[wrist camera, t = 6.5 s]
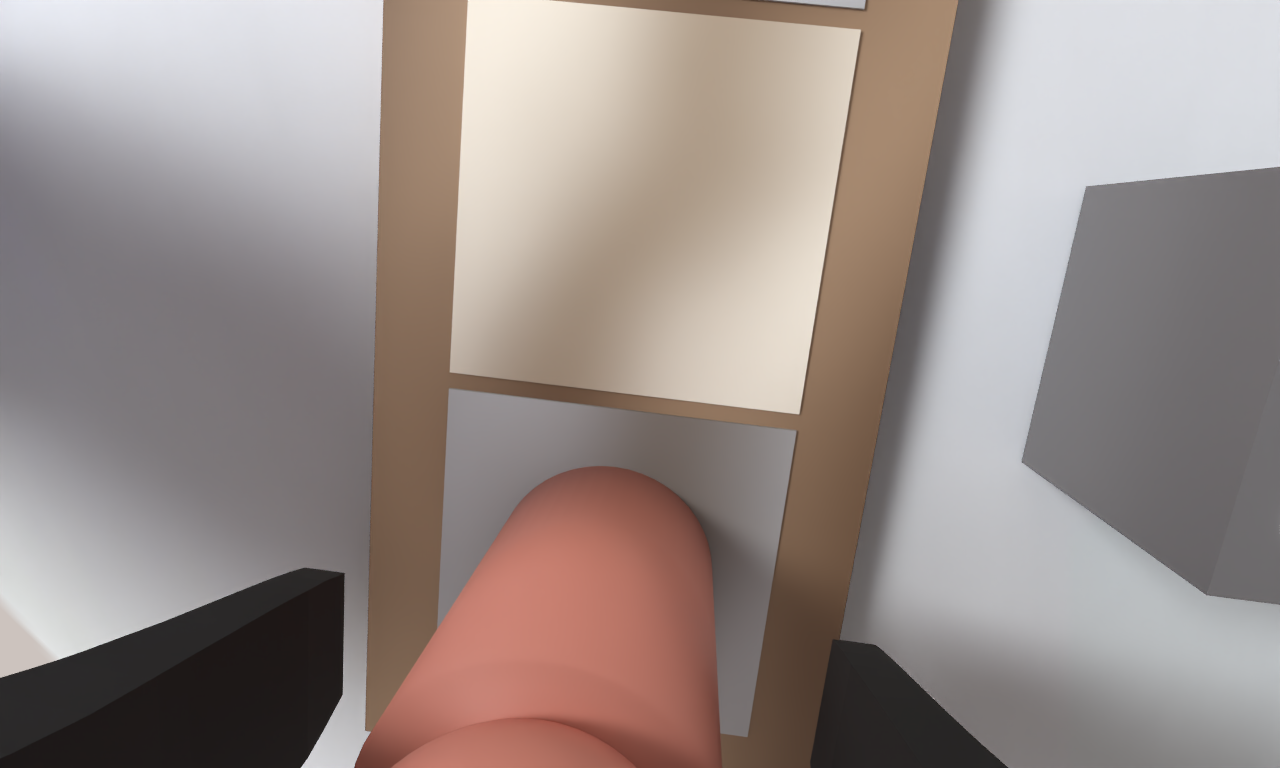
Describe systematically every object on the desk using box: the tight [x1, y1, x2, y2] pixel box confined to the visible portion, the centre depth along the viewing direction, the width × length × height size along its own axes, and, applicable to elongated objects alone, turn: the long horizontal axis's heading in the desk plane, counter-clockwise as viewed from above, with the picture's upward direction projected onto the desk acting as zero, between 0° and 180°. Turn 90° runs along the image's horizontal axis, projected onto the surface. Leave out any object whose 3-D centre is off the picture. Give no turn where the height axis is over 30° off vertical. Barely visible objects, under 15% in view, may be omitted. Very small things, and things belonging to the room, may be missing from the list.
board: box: [365, 0, 958, 768], centre depth 12 cm, size 9×28×1 cm, turn 174°
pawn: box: [354, 466, 722, 768], centre depth 9 cm, size 4×4×9 cm
